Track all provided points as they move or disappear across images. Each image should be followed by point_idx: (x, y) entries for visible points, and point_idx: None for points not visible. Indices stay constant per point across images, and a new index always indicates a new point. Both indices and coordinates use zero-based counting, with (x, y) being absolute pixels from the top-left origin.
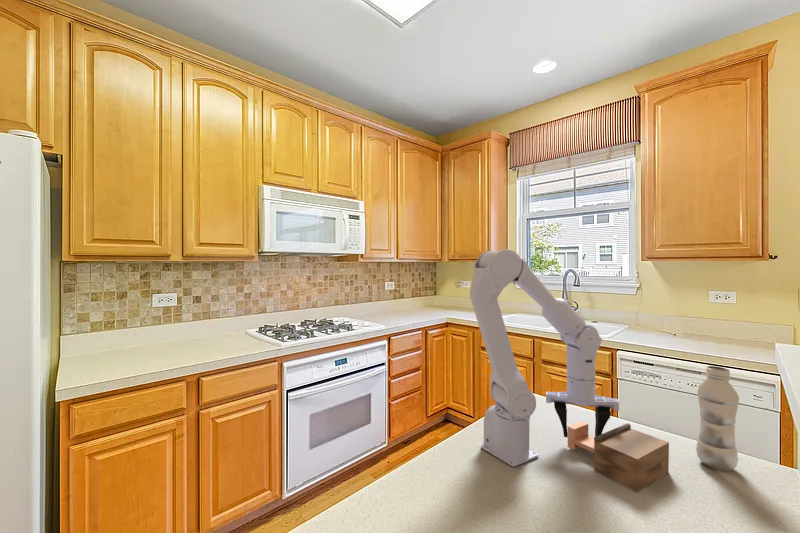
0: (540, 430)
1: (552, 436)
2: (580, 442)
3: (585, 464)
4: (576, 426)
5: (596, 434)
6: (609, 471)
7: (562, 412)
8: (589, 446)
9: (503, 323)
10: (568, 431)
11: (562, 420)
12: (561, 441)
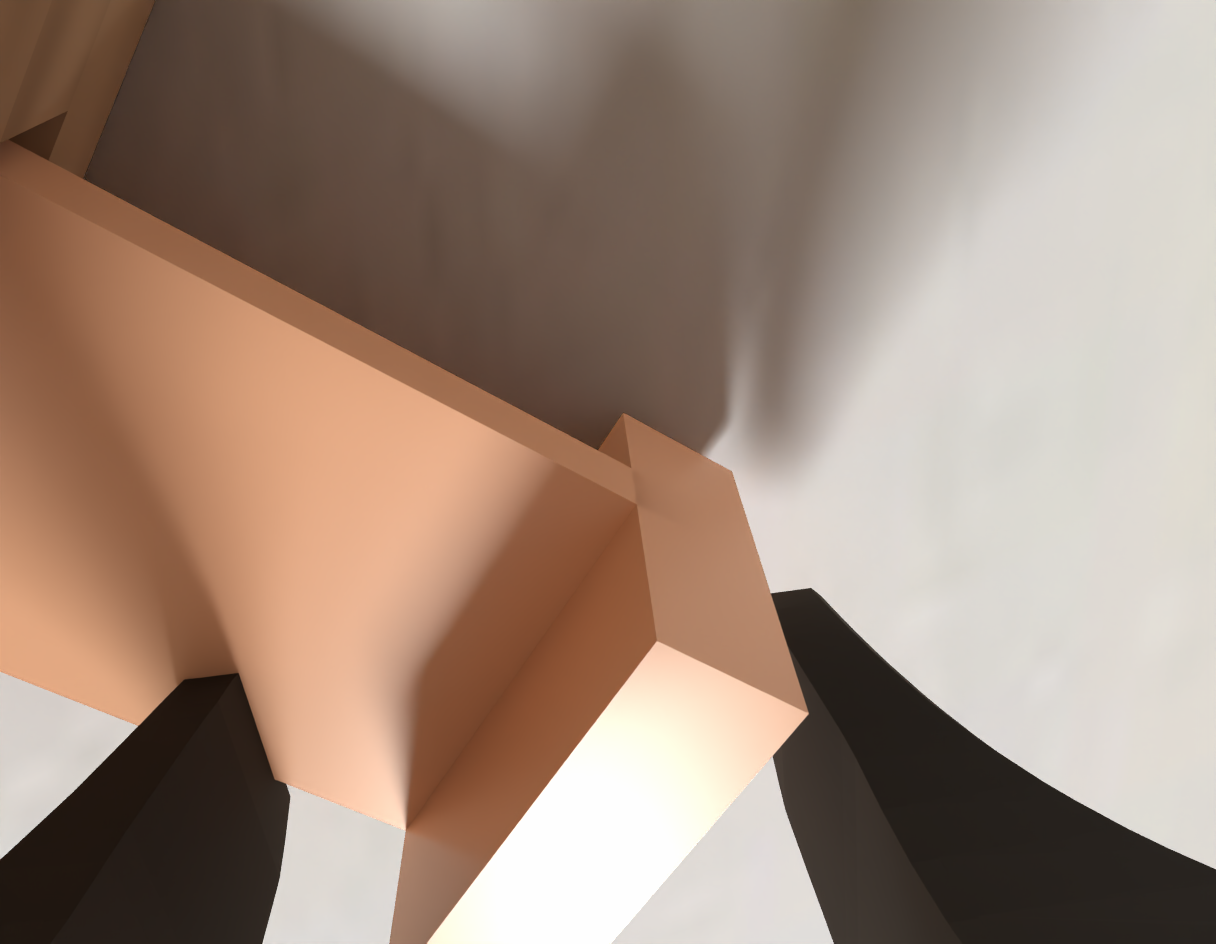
0: None
1: None
2: (515, 453)
3: (412, 20)
4: (613, 793)
5: (221, 774)
6: None
7: (1119, 937)
8: (328, 350)
9: None
10: (770, 636)
11: (981, 782)
12: None
